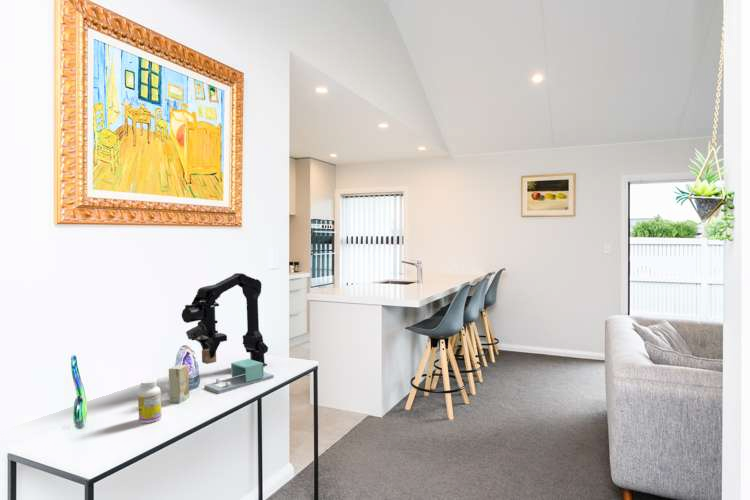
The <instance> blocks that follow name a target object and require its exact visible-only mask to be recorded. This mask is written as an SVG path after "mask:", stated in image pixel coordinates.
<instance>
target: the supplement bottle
mask: <svg viewBox="0 0 750 500" xmlns="http://www.w3.org/2000/svg"><path fill="white" fill-rule="evenodd" d="M157 384H158V379H157V378H148V379H144V380H142V381H140V387H141V388H140V389H139V390H138V393H137V402H138V403H137V404H138V405H137V406H138V421H139V422H140V423H141V424H151V422H152V423H155V422H154V421H156V422H158V421H159V419H162V416H163V415H162V394H161V393H162V391H161V388H160V387H159V386H157ZM157 420H158V421H157Z"/></svg>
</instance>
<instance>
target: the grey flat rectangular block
mask: <svg viewBox="0 0 750 500" xmlns="http://www.w3.org/2000/svg"><path fill="white" fill-rule="evenodd" d="M263 373H264V377H262V378H259V379H255V380H252V381H248V382H246V376H245V374H243V375H239V376H235V377H231V378H230V377H229V378H226V379H223V380H222V378H220V377H219V378H216V379H215V380H216V381H214V382H211V383H209V384H204V389H205V390H208V391H210V392H213V393H216V394H223V393H226V392H229V391H232V390H237V389H239V388H240V389H241V388H243V387H247V386H250V385H254V384H257V383H260V382H264V381H266V380H271V379H274V378H275V375H274V374H272V373H270V372H269V373H268V372H265V371H263Z"/></svg>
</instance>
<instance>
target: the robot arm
mask: <svg viewBox="0 0 750 500" xmlns="http://www.w3.org/2000/svg"><path fill="white" fill-rule="evenodd" d="M235 286H239V287H240V288H241V290H242V294H243V296H244V297H245V299H246V319H247V320H246V323H247V325H246V326H247V329H246V330H247V331H246V333H245V334H243V335H242V345H243V347H244V349H245V352H246V353H249V355H250V358H249V359H250V360H254V361H258V362H261V363H263V367H265V366H267V365H268V363H265V354H266V353H268V351H269V347H268V345H267V344H265V342H264V338H263V334H262V333H261V332H260V329H259V328H260V327H259V323H260V322H259V298H260V295H261V293H262V282H261V281H260V279H257V278H256V279H255V278H254V277H251V276H248V275H246V274H245V273H241V272H240V273H236V272H235V273H233V274H232V275H231V276H229V277H227V278H225V279H223V280H220V281H219V282H216V283H215V284H211V285H206V286H202V287H200V288H198V289H197V292H196V295H195V297H194V299H192V303H191V304H185V305H184V309H182V312H181V319H182V321H183V322H184V323H186V324H188V323H192V322H197V325H196V326H194V327H192V328H191V329H189V330H187V331H186V332H185V334H186V336H187V338H188V340H191V341H197V342H198V343H199V344H200V346H201V348H202V349H201V350H205V349H209V353H210V358H213V357H214V355H215V353H216V354H217V350H218V348H219V346H220V345H221V343H223V342H227V341H228V335H227V334H225V333H223V332H219V331H218V329H216V324H218V323H219V322H218V320H216V307H219V306H220V304H219V303H218V302H217V300H218V299H219V298H221V295H222V294H223V293H224V292H228V291H229V290H230V289H232V288H235Z"/></svg>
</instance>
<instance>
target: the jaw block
mask: <svg viewBox="0 0 750 500" xmlns="http://www.w3.org/2000/svg"><path fill="white" fill-rule="evenodd" d="M201 363H203V364H206V365H208V364H213V363H217V352H216V353H215V355H214V357H213V358H210V353H209V349H205V350H203V349H201Z"/></svg>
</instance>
